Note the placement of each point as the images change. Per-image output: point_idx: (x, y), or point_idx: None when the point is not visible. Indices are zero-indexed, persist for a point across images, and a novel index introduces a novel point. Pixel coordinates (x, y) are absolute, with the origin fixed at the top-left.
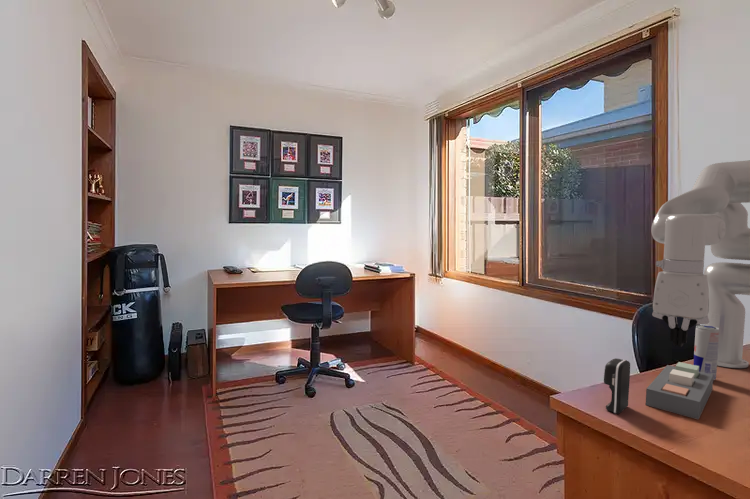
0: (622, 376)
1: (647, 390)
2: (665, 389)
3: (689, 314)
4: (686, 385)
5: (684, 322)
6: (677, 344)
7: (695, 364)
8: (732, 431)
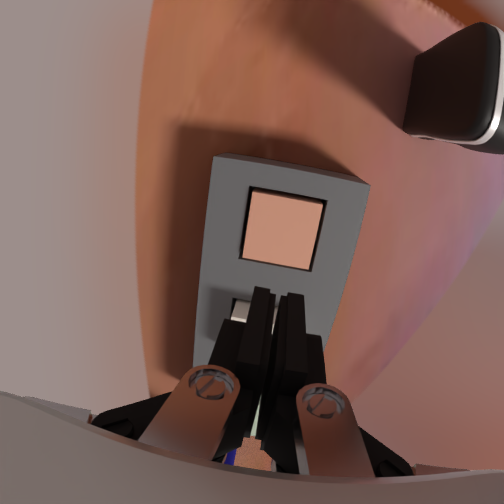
0: (465, 38)
1: (365, 183)
2: (313, 202)
3: (77, 471)
4: (248, 303)
5: (201, 430)
6: (275, 320)
7: (228, 458)
8: (156, 128)
